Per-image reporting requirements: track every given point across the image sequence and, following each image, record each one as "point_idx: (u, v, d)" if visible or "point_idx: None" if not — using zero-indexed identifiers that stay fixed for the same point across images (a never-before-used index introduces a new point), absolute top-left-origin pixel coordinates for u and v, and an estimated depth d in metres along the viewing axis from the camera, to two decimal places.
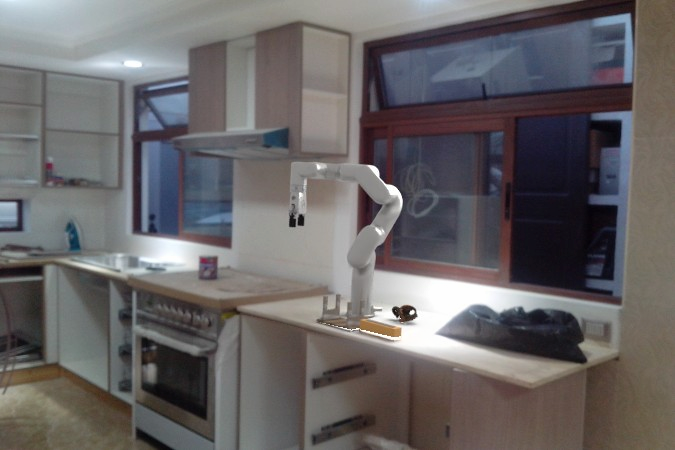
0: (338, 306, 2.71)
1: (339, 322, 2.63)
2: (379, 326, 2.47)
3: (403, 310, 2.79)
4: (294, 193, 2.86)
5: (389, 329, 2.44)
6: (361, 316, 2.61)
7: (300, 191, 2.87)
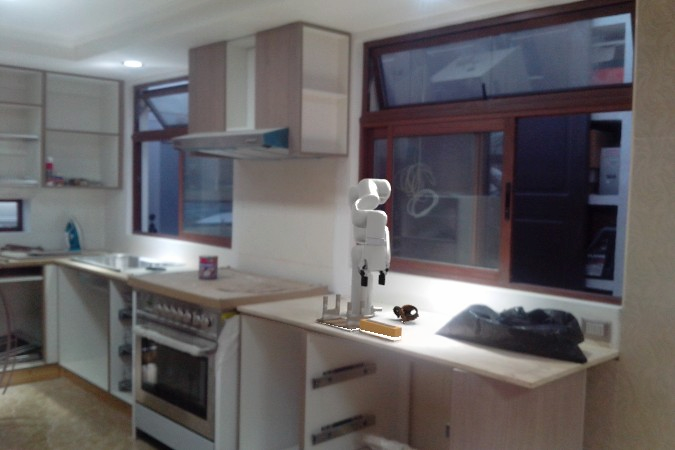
0: (338, 306, 2.71)
1: (339, 322, 2.63)
2: (379, 326, 2.47)
3: (404, 310, 2.80)
4: None
5: (389, 329, 2.44)
6: (361, 316, 2.61)
7: None
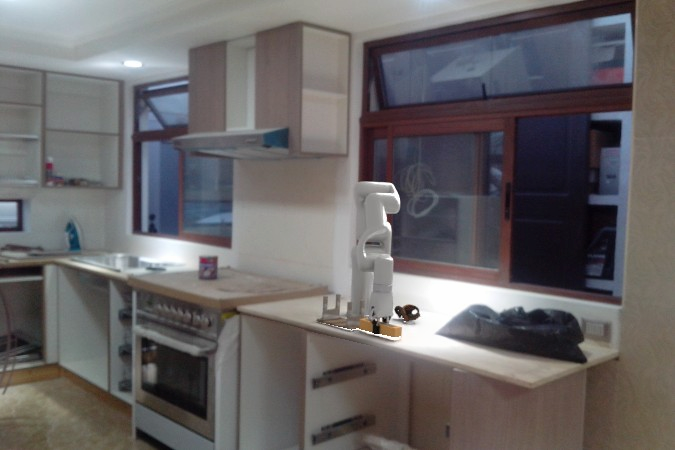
0: (338, 306, 2.71)
1: (339, 322, 2.63)
2: (379, 325, 2.47)
3: (405, 310, 2.80)
4: None
5: (389, 328, 2.44)
6: (361, 316, 2.61)
7: None
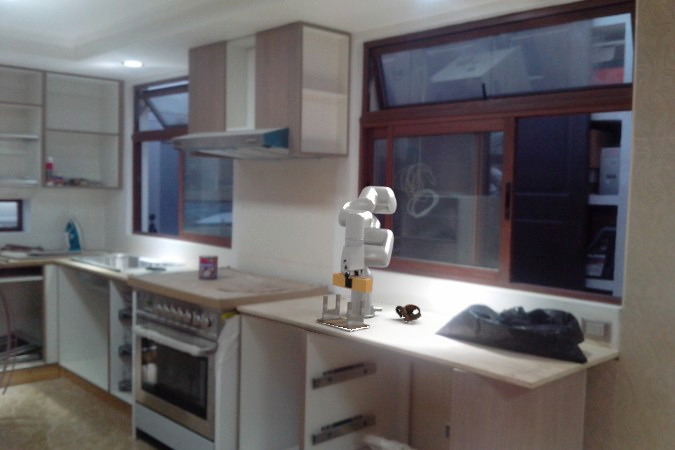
0: (338, 306, 2.71)
1: (339, 322, 2.63)
2: None
3: (406, 309, 2.81)
4: None
5: (361, 281, 2.55)
6: (361, 316, 2.61)
7: None
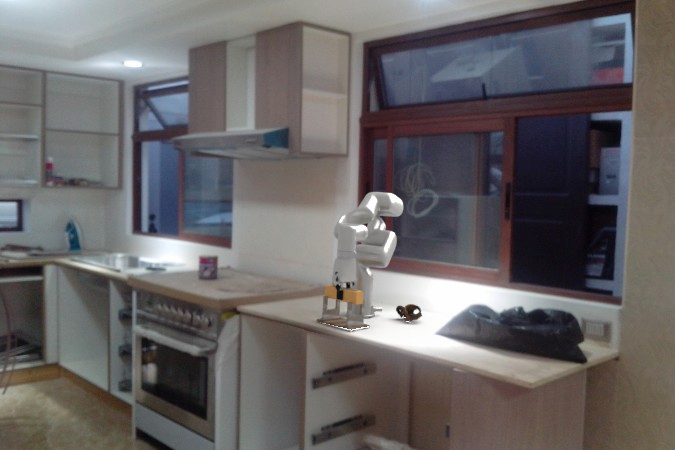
0: (338, 306, 2.71)
1: (339, 322, 2.63)
2: None
3: (407, 309, 2.81)
4: None
5: (351, 292, 2.57)
6: (361, 316, 2.61)
7: None
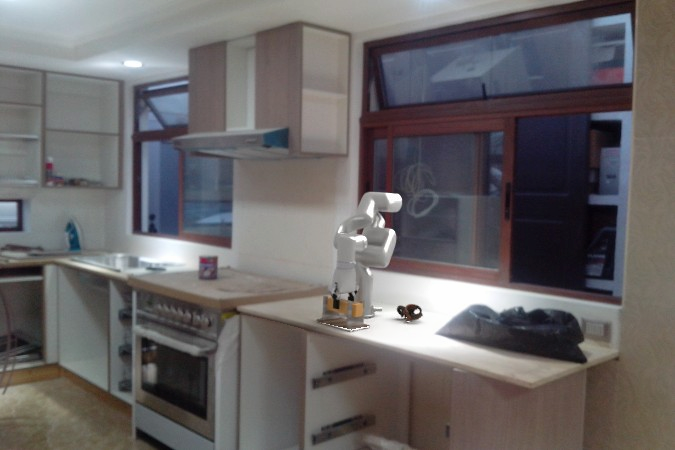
0: None
1: (339, 322, 2.63)
2: (342, 303, 2.61)
3: (408, 309, 2.82)
4: None
5: None
6: (361, 316, 2.61)
7: None
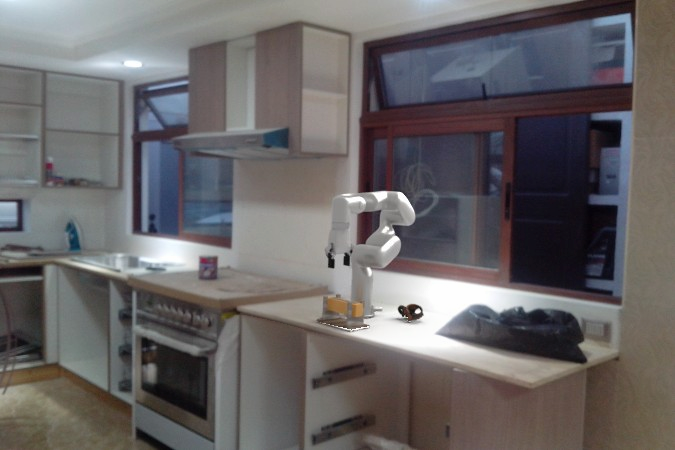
0: None
1: (339, 322, 2.63)
2: (342, 303, 2.61)
3: (409, 309, 2.82)
4: None
5: None
6: (361, 316, 2.61)
7: None
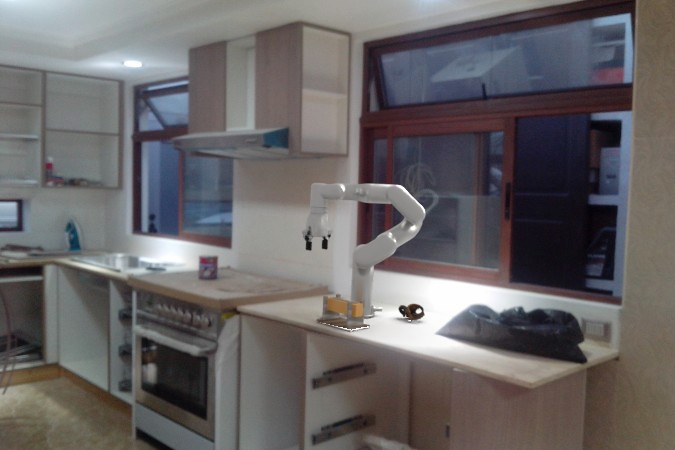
0: None
1: (339, 322, 2.63)
2: (342, 303, 2.61)
3: (410, 309, 2.83)
4: None
5: None
6: (361, 316, 2.61)
7: None
